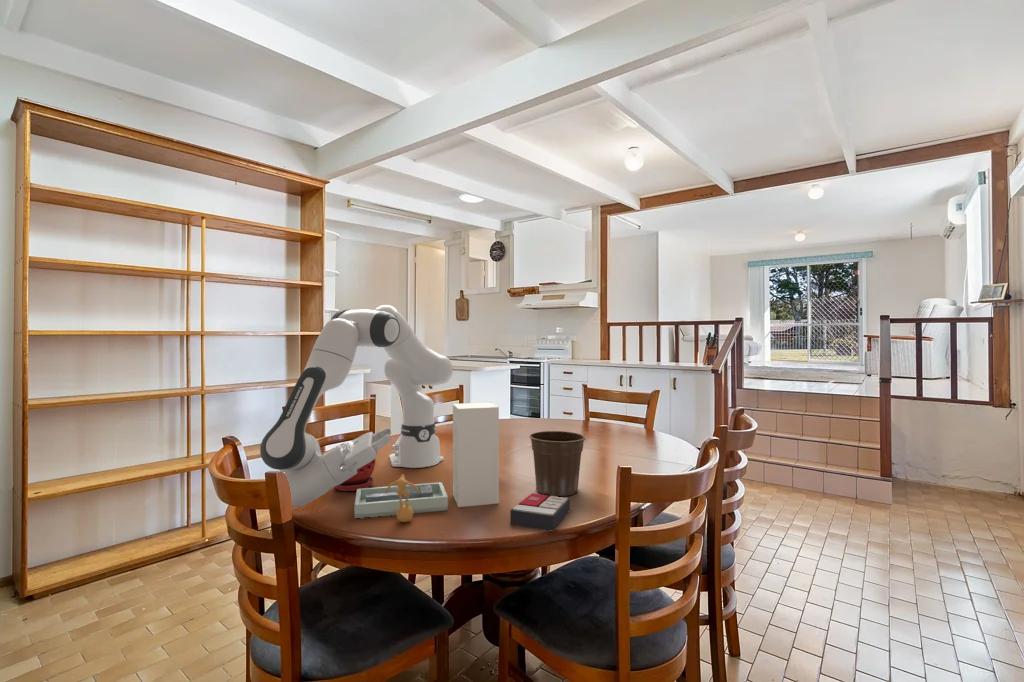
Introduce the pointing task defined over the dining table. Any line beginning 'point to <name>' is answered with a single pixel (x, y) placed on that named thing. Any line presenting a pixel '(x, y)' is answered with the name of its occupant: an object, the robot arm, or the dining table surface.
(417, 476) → the dining table surface
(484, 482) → the post
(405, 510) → the figurine
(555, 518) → the dark grey box
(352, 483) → the plant pot
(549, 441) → the plant pot
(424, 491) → the stop bar
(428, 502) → the tray
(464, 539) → the dining table surface
